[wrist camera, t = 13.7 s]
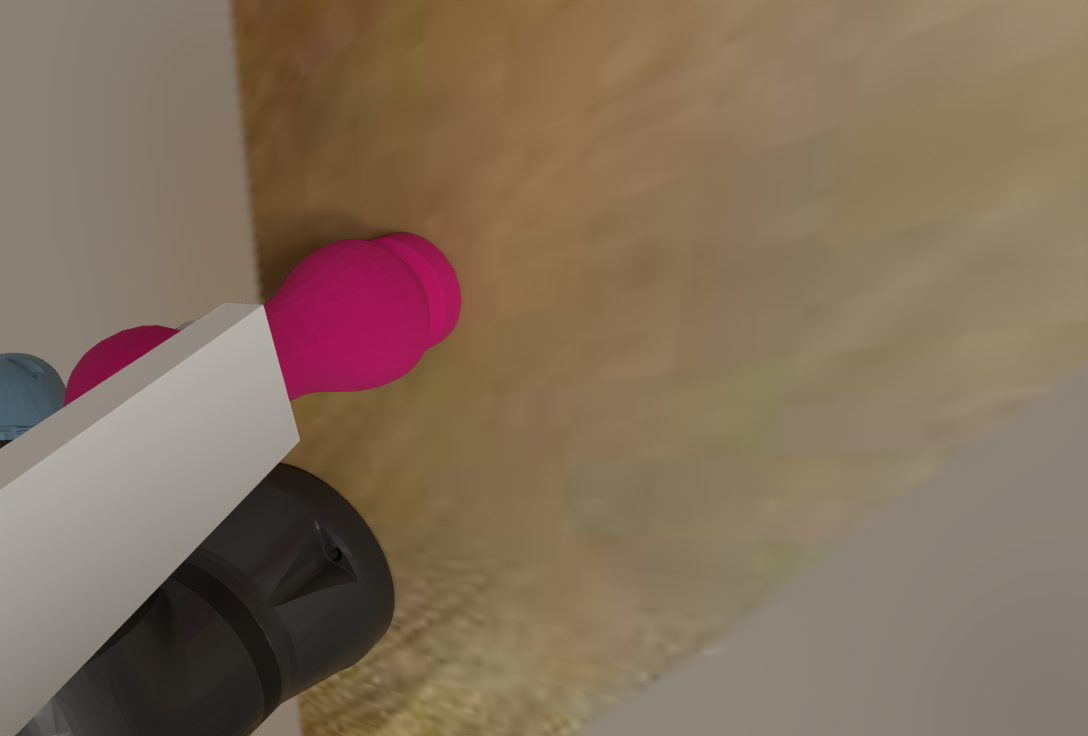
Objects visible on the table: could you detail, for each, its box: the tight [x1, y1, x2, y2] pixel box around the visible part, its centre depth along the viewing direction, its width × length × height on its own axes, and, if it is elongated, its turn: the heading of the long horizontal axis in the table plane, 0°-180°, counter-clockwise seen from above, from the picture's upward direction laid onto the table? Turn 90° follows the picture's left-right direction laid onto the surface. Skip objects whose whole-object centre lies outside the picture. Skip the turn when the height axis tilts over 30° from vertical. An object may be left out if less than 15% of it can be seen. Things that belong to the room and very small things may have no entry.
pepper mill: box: [64, 233, 461, 407], centre depth 32 cm, size 7×7×20 cm
